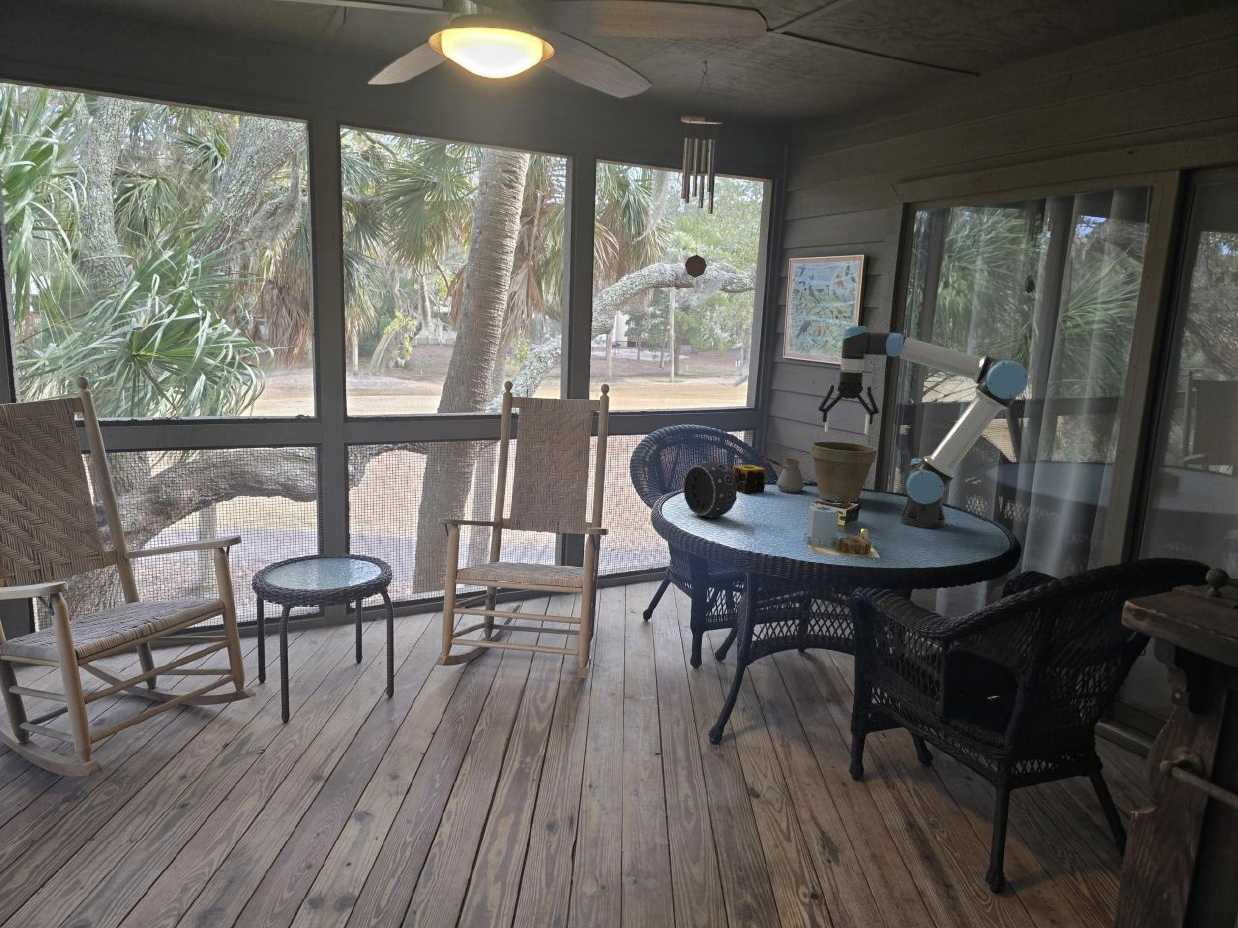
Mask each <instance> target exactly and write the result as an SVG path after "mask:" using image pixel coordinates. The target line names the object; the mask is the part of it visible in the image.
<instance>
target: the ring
mask: <svg viewBox="0 0 1238 928" xmlns="http://www.w3.org/2000/svg"><path fill="white" fill-rule="evenodd" d="M683 481H684V482H683V485H682V487H683V495H684V498H683V499H684V500H685V502H686V504H687V506H688V509H689V510H690V511H692V512H693V513H694V514H695V515H696V516H699V517H700V518H703V519H704V518H708V519H714V518H719V517H721V516H724V515H726V514H727V513H728V512H729V511H731V510H732V508H733V507H734V505H735V503H736V502H737V497H738V496H737V493H738V492H737V484H736V481H735V478H734V474H733V470H731V469H730V468H729V466H727V465H726V464H724V463H722V462H720V461H716V460H704V461H699V462H696V463H694V465H692V466H691V468H690V469H689V470H688V471H687V473H685V477H684V480H683Z"/></svg>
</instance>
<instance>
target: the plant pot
mask: <svg viewBox="0 0 1238 928" xmlns="http://www.w3.org/2000/svg"><path fill="white" fill-rule="evenodd" d="M810 445H811V447H810V448H811V449H810V455H811V457H812V459H813V464H814V472H815V476H816V477H815V478H816V483H817V489H818V494H819V498H820V499H822V500H824V501H827V500H830V501H829V502H831V501H837V502H854V503H857V502H858V500H859V498H860V496H861V493H862V491H863V488H864V486H865V484H866V480H867V477H868V475H869V473H870V470H871V468H872V465H873V463H875V461H876V458H877V454H878V453H877V451H878V450H877V448H876V447H873V446H870V445H866V444H860V443H854V442H844V441H814V442H812V443H811V444H810ZM837 502H836V503H837Z"/></svg>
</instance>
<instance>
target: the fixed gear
mask: <svg viewBox="0 0 1238 928" xmlns="http://www.w3.org/2000/svg"><path fill="white" fill-rule="evenodd" d="M871 545H872V541H869V540H868V539H867V540H866V539H860V537H859V536H857V535H855V536H845V537H840V538H839V546H838V549H839V550H842V551H841V552H843V553H850V554H852V555H854V554H859V555H864V554H870V551H871Z"/></svg>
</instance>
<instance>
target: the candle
mask: <svg viewBox="0 0 1238 928" xmlns="http://www.w3.org/2000/svg"><path fill="white" fill-rule="evenodd" d="M766 470H767V469H766V468H764V467H761V466H758V465H757V466H756V465H753V464H746V465H745V464H743V465H732V473H733V474H734V478H735V481H736V484H737V493H741V494H744V495H750V494H752V495H753V494H759V493H760V494H761V493H764V492H765V488H766V486H765V485H766Z"/></svg>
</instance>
